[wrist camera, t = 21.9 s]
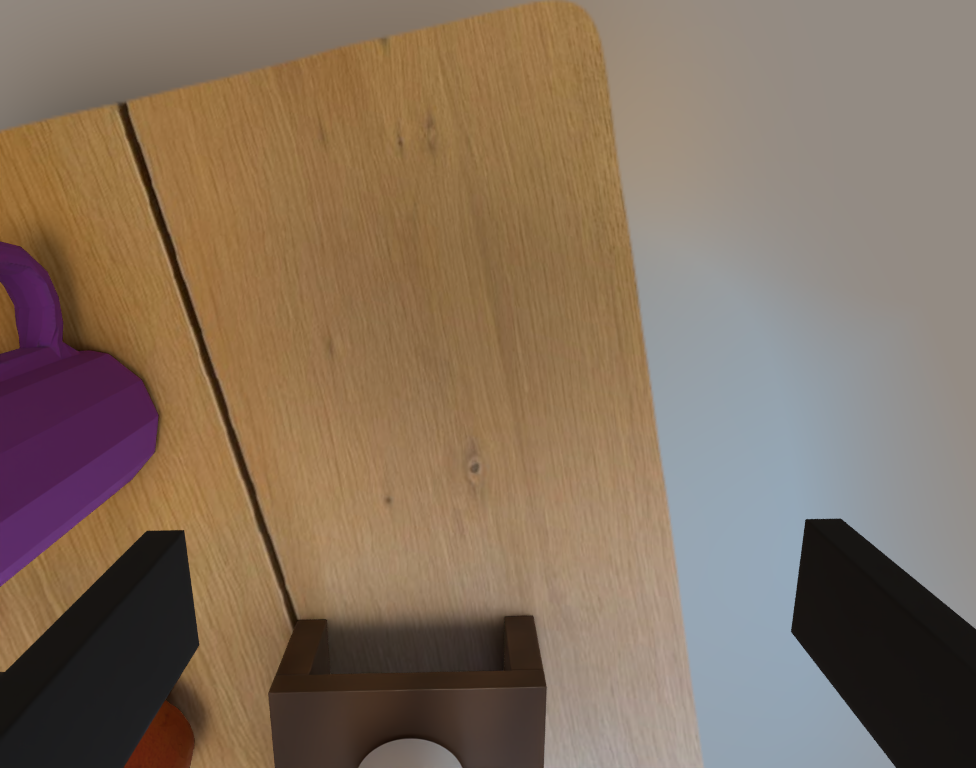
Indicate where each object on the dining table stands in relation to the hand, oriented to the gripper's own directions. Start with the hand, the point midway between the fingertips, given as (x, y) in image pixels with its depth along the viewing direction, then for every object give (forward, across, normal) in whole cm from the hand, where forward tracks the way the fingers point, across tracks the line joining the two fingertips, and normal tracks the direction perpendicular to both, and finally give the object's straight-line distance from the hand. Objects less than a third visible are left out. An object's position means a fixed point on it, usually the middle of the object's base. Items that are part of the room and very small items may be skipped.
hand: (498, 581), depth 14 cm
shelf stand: (+27, -4, -26) cm, 37 cm away
